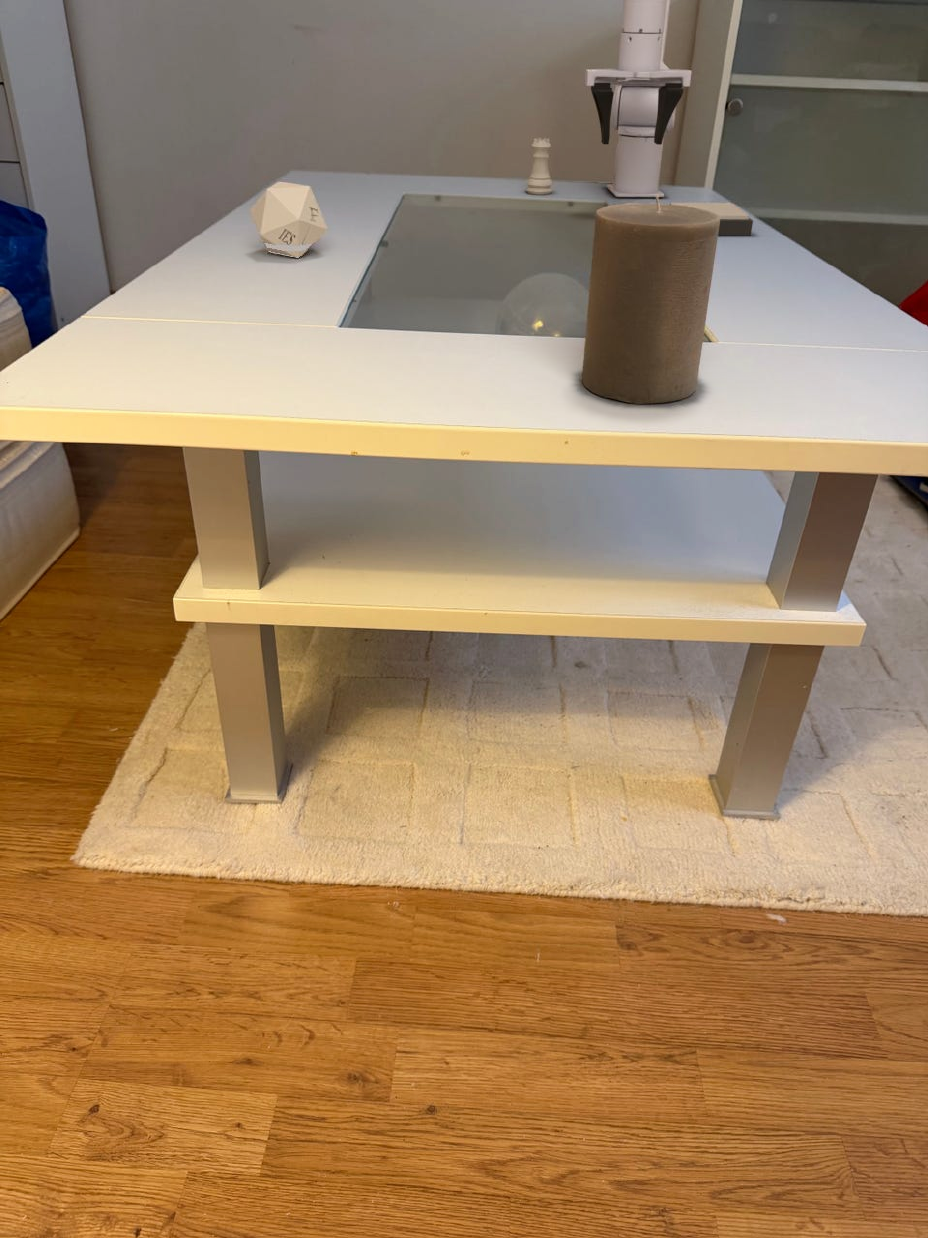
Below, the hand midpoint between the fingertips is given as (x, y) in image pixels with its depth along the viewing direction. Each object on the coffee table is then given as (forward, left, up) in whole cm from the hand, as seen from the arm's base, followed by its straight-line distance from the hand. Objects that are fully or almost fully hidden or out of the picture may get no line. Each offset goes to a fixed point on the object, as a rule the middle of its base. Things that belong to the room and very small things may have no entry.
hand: (631, 143), depth 137 cm
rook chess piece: (-19, -11, -10) cm, 24 cm away
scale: (+9, +10, -10) cm, 16 cm away
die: (+25, -47, -10) cm, 54 cm away
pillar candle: (+73, -12, -10) cm, 74 cm away
